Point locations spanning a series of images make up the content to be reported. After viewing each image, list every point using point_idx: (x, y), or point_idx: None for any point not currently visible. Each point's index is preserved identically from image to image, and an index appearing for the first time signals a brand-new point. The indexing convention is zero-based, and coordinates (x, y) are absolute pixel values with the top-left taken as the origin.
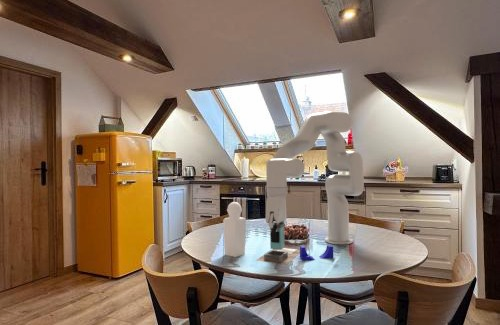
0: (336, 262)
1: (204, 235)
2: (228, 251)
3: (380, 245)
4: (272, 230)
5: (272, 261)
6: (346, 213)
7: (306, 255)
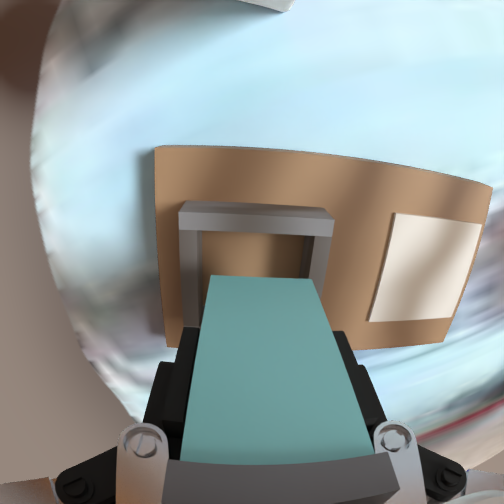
0: None
1: None
2: None
3: (485, 439)
4: (116, 456)
5: (175, 265)
6: None
7: None
